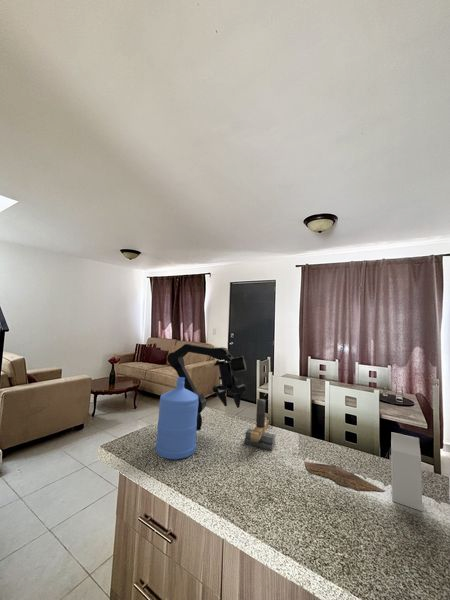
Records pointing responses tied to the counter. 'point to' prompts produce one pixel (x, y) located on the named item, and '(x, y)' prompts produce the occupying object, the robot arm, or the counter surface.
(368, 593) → the counter surface
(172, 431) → the water jug
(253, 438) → the tan grey t-shaped tool
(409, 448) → the milk carton
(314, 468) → the wooden fragment
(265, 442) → the ridge stand
